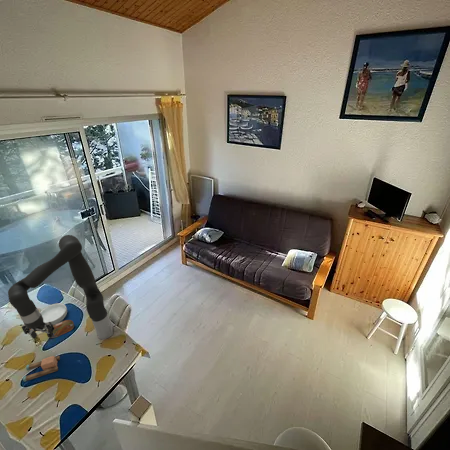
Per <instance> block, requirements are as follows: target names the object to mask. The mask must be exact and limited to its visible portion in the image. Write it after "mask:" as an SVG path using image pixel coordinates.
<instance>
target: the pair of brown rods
mask: <svg viewBox="0 0 450 450" xmlns="http://www.w3.org/2000/svg"><path fill="white" fill-rule="evenodd" d="M55 358H56V359H57V361H60V360H61V357H60V355H57V356H55ZM41 362H42V360H41V361H40V360H39V361H38V362H34V363H31V364H27V365H26V366H25V369H26V370H27V371H30V370H32V369H36V368H39V367H41ZM58 371H59V366H58V365H57V366H56V367H53V368H50V369H47V370H41V371H38V372H37V371H36V372H35V373H32V374H29V375H24V376H23V377H22V381H23V382H24V383H25V382H27V381H31V380H34V379H37V378H40V377H43V376H46V375H49V374H53V373H55V372H58Z"/></svg>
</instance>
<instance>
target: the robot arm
mask: <svg viewBox="0 0 450 450" xmlns="http://www.w3.org/2000/svg"><path fill="white" fill-rule="evenodd" d="M58 248H59V251H58V252H57V254H56V255H55V256H54V257H52V258H51V259H49V260H48V261H46V262H44V263H42V264H39V265H38V266H37V267H36V268H34V269H33V270H32V271H31V272H30V273H29V274H27V276H25V277H24V278H22V279H20V280H18V281H16V282H15V283H14V284H12V285H11V286H10V287H9V289H8V291H7V297H8V301H9V303H10V305H11V306H12V307H13V308H14V309H15V310H16V312H17V313H18V315H19V317H20V319H21V321H22V323H23V325H22V326H21V330H22V331H23V333H24V335H30V337H31V338H32V339H36V338H37V336H38V334H37V333H36V332H41V333H46V335H48V336H49V337H48V336H47V337H48V338H49V339H52V338H51V337H52V336H53V331H54V329H55V328H54V327H53V325H52V323H51V322H48V323H46V324H45V323H44V322H43V317H42V315H41V314H40V312H41V311H40V310H39V309H38V307H37V306H36V305H35V302H34V301H33V300H32V299H30V296H29V294H28V291H29V289H36V288H38V287H39V286H40V285H41V284H42V283H43V282H44V281H45V280H46V279H48V278H49V277H50V276H51V275H52V274H53V273H55V272H56V271H57V270H59V269H60V268H61V267H62V266H64V265H65V264H67V263H68V266H69V268H70V272H71V275H72V277H73V279H74V281H75V283H76V285H77V286H78V287H79V288H81V289H82V290H83V292H84V295H85V300H86V301H85V302H86V304H85V307H86V311H87V314H88V317H89V318H90V319H91V321H92V325H93V327H94V330H95V333H96V336H97V337H98V339H99V340H106V339H109V338H110V337H111V336H113V335H114V327H113V323H112V321H111V318H110V317H109V314H108V313H109V312H108V311H107V309H106V307H105V304H104V295H103V293H102V292H101V289H99V287H98V285H97V283H96V279H95V276H94V272H93V270H92V268H91V266H90V265H89V263H88V262H87V259H86V258H85V257H84V255H83V253H82V250H83V246H82V243H81V241H80V240H79V239H78V237H77V236H74V235H72V234H67V235H63V236H62V237H61V238H60V239H59V241H58ZM47 330H48V331H47Z"/></svg>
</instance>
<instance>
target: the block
mask: <svg viewBox="0 0 450 450" xmlns="http://www.w3.org/2000/svg"><path fill="white" fill-rule="evenodd" d="M55 357H56V356H55V355H51V356H48V357H46V358H42V359H41V361H42V362H41V366H40V367H41V369H42V371H44V370H47V369H50V368H53V367H56V366H57V367H58V361H59V360H58V361H57V359H56V358H55Z"/></svg>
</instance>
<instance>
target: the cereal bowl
mask: <svg viewBox="0 0 450 450" xmlns="http://www.w3.org/2000/svg"><path fill="white" fill-rule="evenodd" d="M39 312H40V314H41V315H42V317H43V322H44V323H45V324H46V323H48V322H51V323H52V325H56V324H58V323H60V322H63V321H64V319H65V318H66V317H67V313H68V308H67V306H66V304H64V303H59V302H57V303H53V304H50V305H47V306H46V307H44V308H43V309H42V310H41V311H39Z"/></svg>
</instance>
